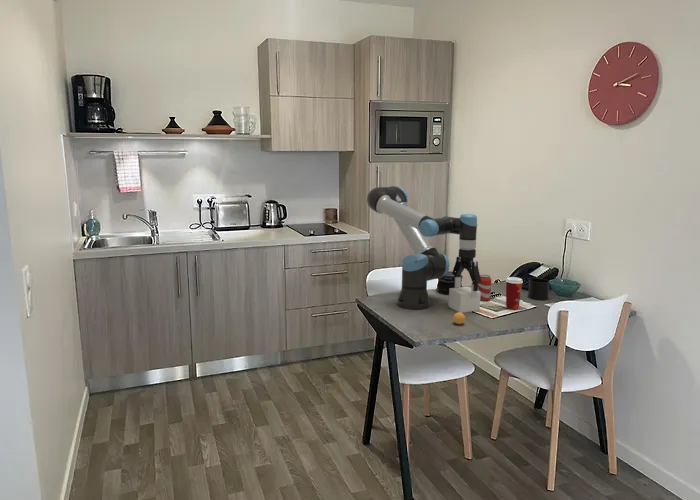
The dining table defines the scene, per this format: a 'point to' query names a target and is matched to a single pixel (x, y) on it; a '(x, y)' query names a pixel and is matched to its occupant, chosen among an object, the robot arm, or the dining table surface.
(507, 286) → the paper cup
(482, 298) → the beverage can
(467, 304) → the plain off-white cube
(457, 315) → the ball
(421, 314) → the dining table surface
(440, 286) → the container
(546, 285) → the mug
